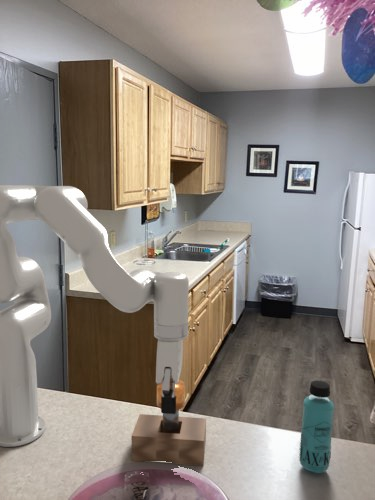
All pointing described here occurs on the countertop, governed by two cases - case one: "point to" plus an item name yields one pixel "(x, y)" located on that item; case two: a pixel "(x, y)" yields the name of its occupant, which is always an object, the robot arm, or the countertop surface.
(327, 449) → the beverage bottle
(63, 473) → the countertop surface
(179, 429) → the block
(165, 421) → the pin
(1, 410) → the robot arm
